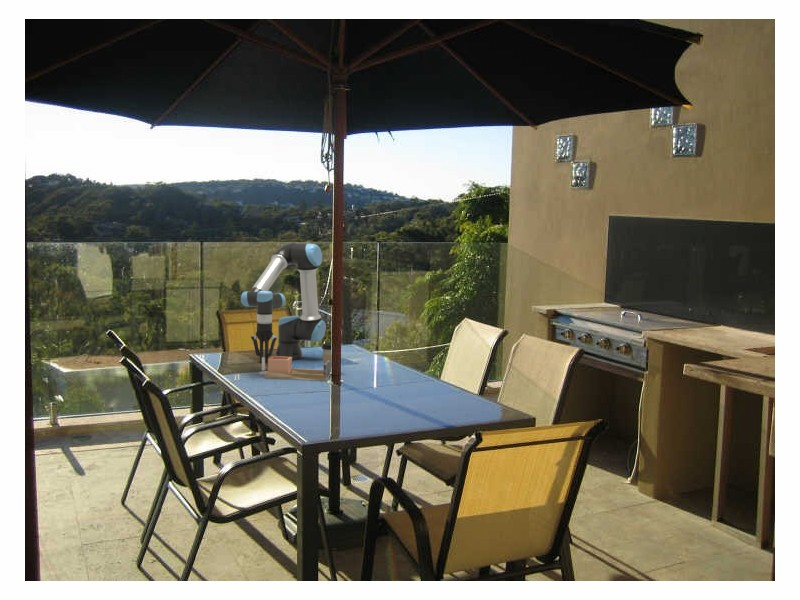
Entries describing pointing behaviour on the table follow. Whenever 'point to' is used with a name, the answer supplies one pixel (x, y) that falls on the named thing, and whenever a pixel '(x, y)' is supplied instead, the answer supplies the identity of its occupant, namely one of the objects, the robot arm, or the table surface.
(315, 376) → the bay
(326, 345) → the coffee cup
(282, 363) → the box
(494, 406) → the table surface
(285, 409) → the table surface
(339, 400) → the table surface
